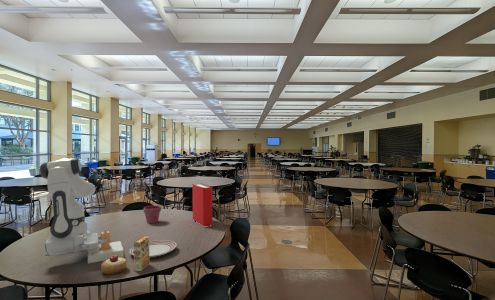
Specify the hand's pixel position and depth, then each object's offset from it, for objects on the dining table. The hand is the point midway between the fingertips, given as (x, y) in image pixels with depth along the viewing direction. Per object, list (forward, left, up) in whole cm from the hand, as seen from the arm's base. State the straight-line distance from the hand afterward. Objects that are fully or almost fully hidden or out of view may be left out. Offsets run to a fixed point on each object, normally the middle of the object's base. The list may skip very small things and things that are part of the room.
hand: (106, 238), depth 164 cm
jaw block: (0, -1, -7) cm, 7 cm away
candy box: (+30, +15, -10) cm, 35 cm away
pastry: (+26, +2, -10) cm, 28 cm away
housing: (0, -1, -10) cm, 10 cm away
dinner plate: (+10, +25, -10) cm, 29 cm away
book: (-35, +74, -10) cm, 83 cm away
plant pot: (-61, +38, -10) cm, 73 cm away
